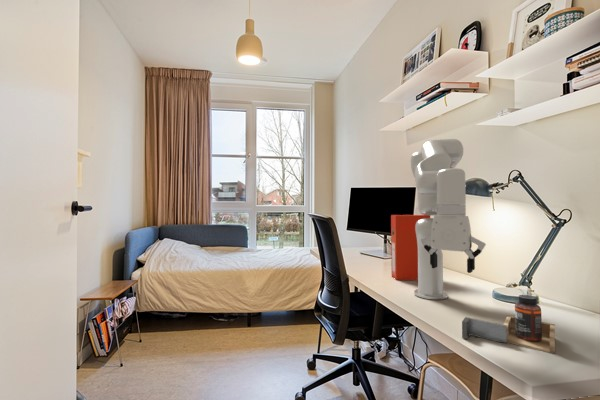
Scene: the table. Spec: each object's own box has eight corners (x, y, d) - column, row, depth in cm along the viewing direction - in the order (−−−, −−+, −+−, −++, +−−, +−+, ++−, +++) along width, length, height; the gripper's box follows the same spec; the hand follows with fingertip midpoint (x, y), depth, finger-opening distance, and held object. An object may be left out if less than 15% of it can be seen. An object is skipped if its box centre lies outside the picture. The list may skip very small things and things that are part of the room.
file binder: (391, 276, 162) (391, 214, 163) (424, 276, 162) (424, 214, 163) (396, 280, 154) (395, 215, 155) (431, 280, 154) (430, 215, 155)
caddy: (507, 329, 93) (507, 315, 93) (554, 338, 86) (554, 324, 86) (502, 341, 85) (502, 326, 85) (554, 353, 78) (554, 337, 78)
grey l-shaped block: (465, 332, 90) (465, 317, 90) (506, 342, 84) (506, 325, 84) (462, 337, 87) (462, 321, 87) (504, 348, 81) (504, 330, 81)
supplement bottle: (543, 337, 86) (542, 296, 86) (541, 344, 82) (540, 301, 82) (516, 331, 90) (516, 292, 90) (513, 338, 86) (513, 296, 86)
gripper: (416, 211, 94) (417, 267, 94) (481, 211, 83) (482, 276, 83) (425, 210, 100) (426, 264, 100) (487, 211, 88) (488, 271, 88)
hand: (451, 269), depth 91 cm, fingers open, 9 cm apart
